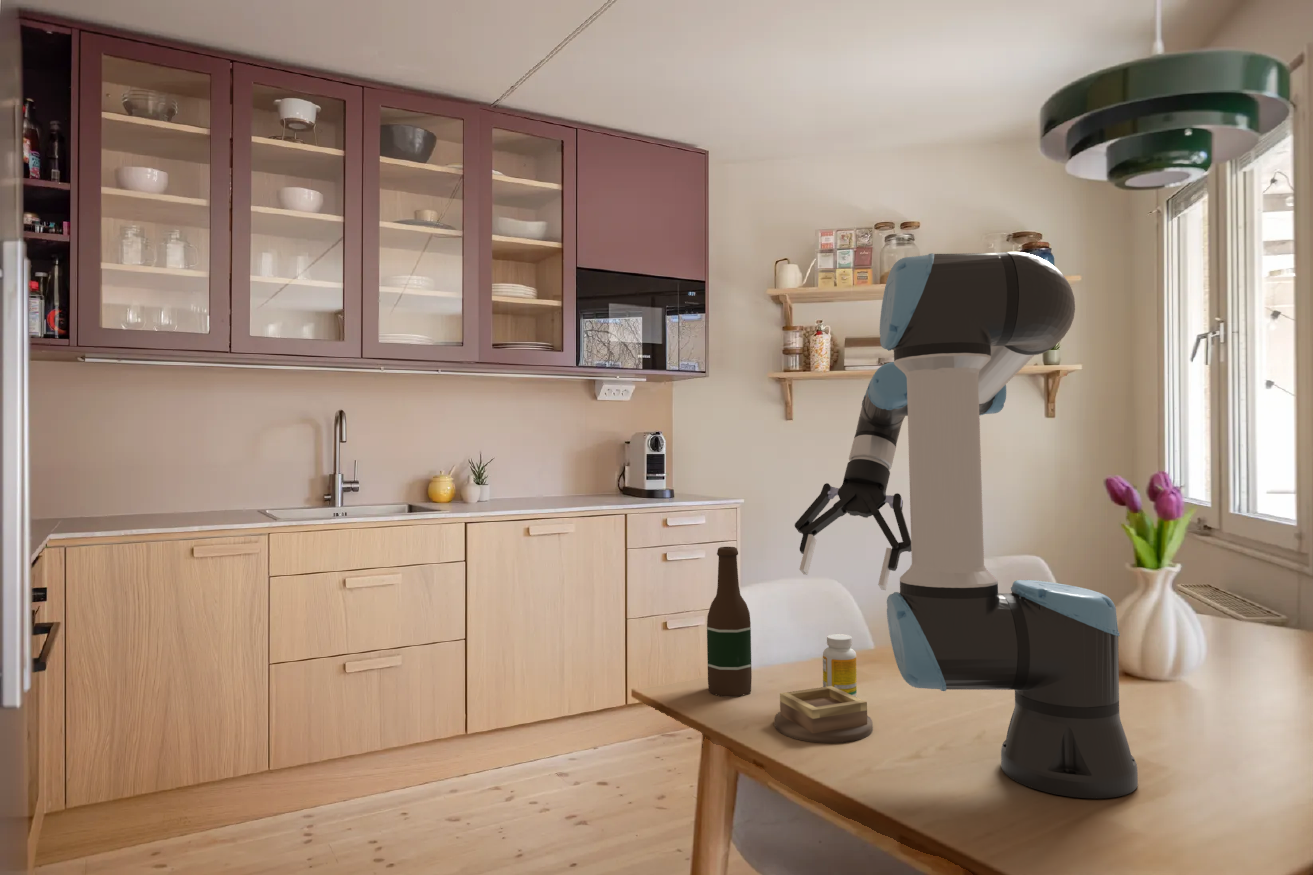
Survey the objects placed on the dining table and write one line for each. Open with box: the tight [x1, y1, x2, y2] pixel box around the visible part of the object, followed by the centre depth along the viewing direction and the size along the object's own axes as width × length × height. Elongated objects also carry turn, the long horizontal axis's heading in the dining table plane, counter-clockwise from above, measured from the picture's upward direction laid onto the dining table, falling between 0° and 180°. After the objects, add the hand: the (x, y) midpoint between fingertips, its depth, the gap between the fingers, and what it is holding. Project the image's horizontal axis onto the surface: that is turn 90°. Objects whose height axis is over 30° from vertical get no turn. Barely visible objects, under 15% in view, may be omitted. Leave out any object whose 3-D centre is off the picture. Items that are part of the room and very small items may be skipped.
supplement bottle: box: [822, 633, 858, 697], centre depth 141 cm, size 5×5×10 cm
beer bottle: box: [706, 546, 753, 697], centre depth 145 cm, size 8×8×24 cm
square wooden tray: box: [774, 686, 874, 744], centre depth 126 cm, size 14×14×4 cm
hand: (841, 579), depth 145 cm, fingers open, 13 cm apart
